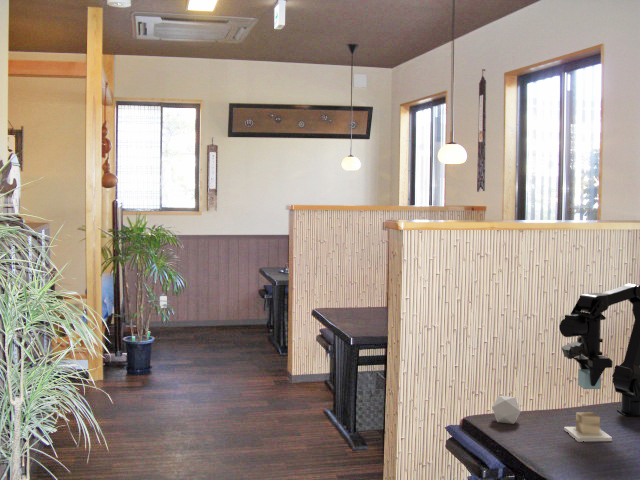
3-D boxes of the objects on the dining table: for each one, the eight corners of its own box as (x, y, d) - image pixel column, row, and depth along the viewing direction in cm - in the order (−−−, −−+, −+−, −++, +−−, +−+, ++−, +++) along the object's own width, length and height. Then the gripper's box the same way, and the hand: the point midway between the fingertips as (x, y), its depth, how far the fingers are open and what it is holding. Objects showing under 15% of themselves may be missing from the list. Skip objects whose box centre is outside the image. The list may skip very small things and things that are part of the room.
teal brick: (578, 384, 222) (578, 369, 222) (593, 384, 223) (593, 369, 222) (584, 389, 217) (584, 373, 217) (600, 389, 218) (600, 373, 217)
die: (523, 421, 222) (508, 393, 227) (528, 415, 215) (512, 387, 219) (499, 431, 222) (485, 403, 226) (503, 426, 214) (489, 397, 218)
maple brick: (575, 428, 210) (576, 412, 210) (592, 428, 210) (592, 412, 210) (582, 434, 205) (583, 417, 205) (599, 434, 205) (599, 417, 205)
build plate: (564, 430, 212) (564, 426, 212) (596, 429, 213) (596, 425, 213) (578, 441, 202) (578, 437, 202) (611, 440, 203) (612, 436, 203)
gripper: (553, 329, 228) (552, 376, 229) (577, 340, 209) (576, 392, 210) (587, 328, 228) (586, 375, 229) (614, 340, 210) (612, 391, 211)
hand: (589, 383), depth 220 cm, fingers closed on teal brick, 5 cm apart
